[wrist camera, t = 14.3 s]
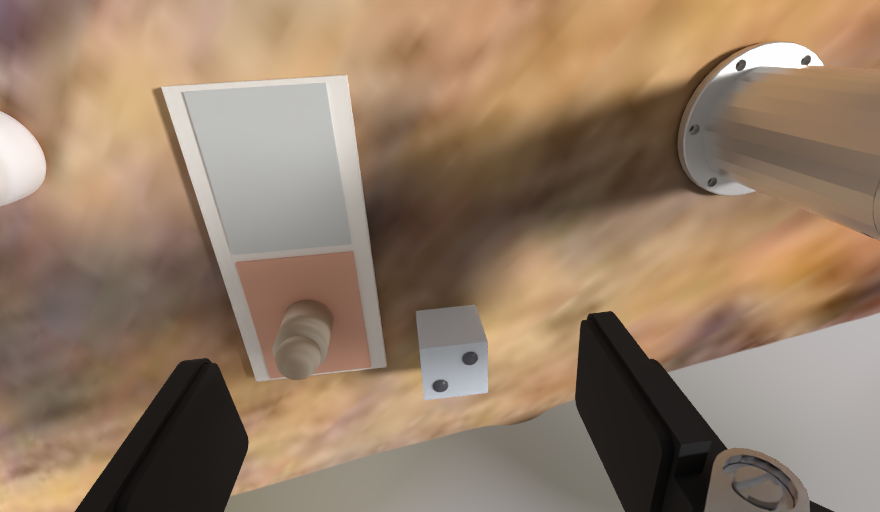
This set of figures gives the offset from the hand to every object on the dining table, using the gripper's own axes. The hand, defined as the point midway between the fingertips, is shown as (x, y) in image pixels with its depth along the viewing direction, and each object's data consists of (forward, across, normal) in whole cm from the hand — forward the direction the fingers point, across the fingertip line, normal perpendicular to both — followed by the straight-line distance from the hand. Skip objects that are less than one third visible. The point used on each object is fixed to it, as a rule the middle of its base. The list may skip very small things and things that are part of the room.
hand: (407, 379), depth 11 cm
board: (+26, +11, +8) cm, 30 cm away
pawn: (+25, +11, +14) cm, 31 cm away
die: (+27, -2, +19) cm, 33 cm away
